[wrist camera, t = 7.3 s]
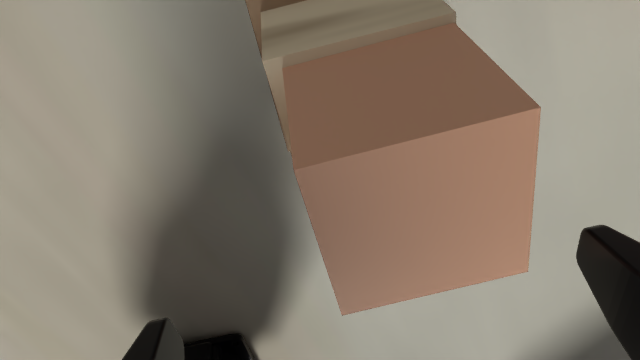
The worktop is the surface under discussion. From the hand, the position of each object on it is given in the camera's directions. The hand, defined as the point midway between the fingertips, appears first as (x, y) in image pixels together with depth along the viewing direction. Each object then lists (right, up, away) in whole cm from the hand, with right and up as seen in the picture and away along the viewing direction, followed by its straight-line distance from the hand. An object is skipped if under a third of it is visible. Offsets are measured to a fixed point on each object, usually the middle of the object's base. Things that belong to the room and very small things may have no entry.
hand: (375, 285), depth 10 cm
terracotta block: (+1, +4, +3) cm, 5 cm away
